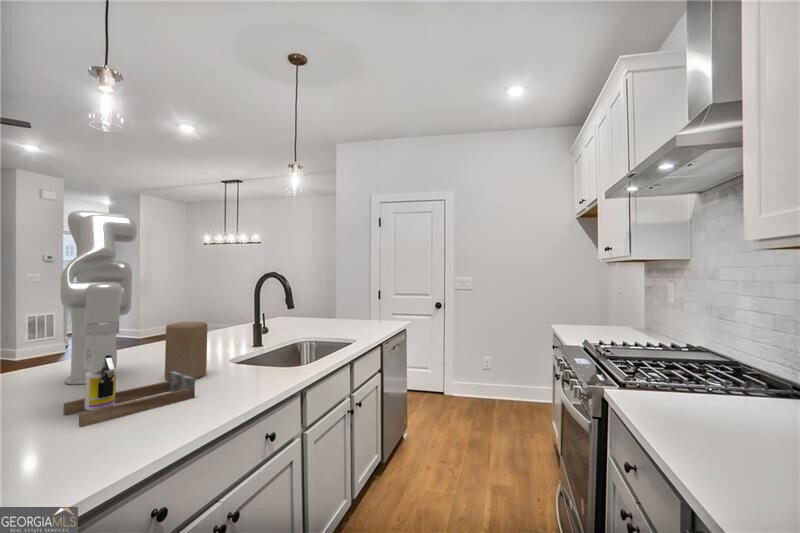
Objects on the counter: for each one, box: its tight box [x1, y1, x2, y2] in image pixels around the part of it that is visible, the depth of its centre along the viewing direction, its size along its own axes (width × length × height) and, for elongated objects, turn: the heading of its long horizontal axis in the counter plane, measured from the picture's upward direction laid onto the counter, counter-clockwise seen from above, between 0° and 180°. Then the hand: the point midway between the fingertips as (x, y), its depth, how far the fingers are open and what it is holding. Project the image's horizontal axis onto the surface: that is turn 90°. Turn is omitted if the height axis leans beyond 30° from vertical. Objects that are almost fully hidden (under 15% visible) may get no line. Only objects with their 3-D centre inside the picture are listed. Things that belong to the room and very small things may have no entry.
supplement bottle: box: [84, 368, 117, 411], centre depth 104 cm, size 7×7×13 cm
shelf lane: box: [62, 371, 196, 428], centre depth 110 cm, size 14×28×6 cm, turn 145°
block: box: [164, 321, 208, 381], centre depth 139 cm, size 10×10×20 cm
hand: (100, 393), depth 104 cm, fingers closed on supplement bottle, 6 cm apart
